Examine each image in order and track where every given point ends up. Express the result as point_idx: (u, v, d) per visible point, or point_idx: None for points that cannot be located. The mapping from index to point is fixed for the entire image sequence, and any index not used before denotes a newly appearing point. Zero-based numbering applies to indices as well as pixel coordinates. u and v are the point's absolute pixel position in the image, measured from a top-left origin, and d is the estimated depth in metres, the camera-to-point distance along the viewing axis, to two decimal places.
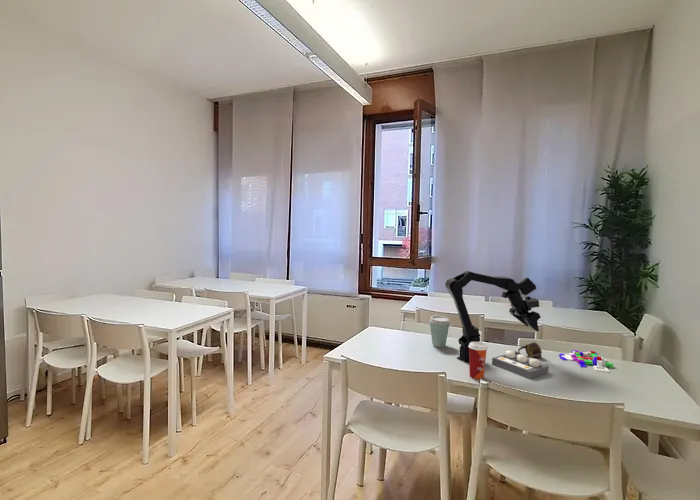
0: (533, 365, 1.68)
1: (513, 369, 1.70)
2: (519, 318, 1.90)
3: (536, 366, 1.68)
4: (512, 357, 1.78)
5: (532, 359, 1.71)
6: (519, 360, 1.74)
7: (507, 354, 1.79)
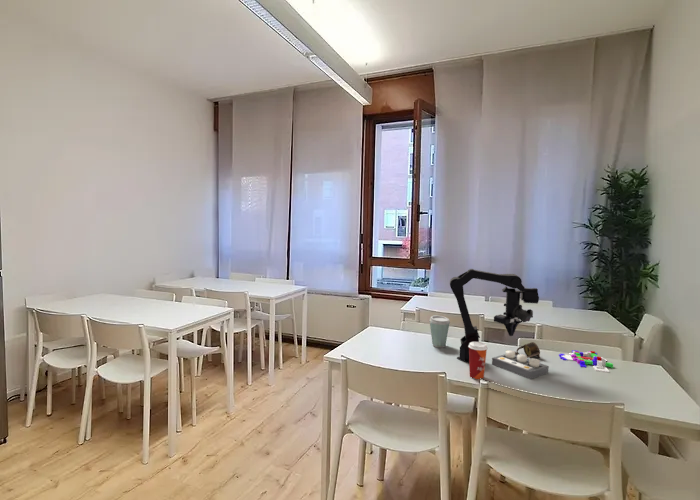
0: (533, 365, 1.68)
1: (513, 369, 1.70)
2: None
3: (536, 366, 1.68)
4: (512, 357, 1.78)
5: (532, 359, 1.71)
6: (519, 360, 1.74)
7: (507, 354, 1.79)
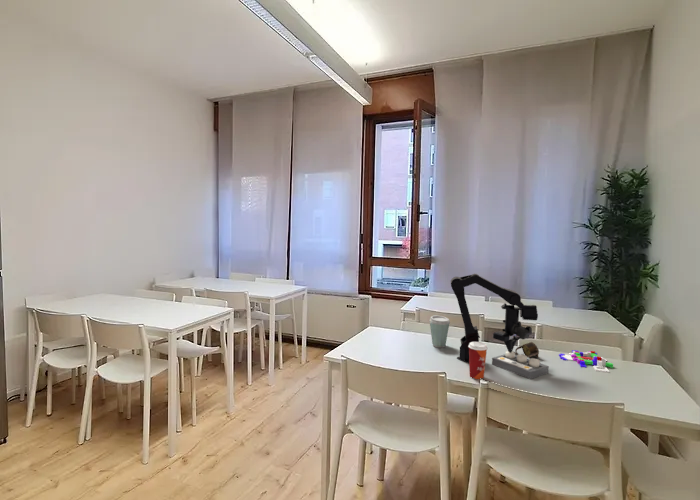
0: (533, 365, 1.68)
1: (513, 369, 1.70)
2: None
3: (536, 366, 1.68)
4: (512, 357, 1.78)
5: (532, 359, 1.71)
6: (519, 360, 1.74)
7: (507, 354, 1.79)
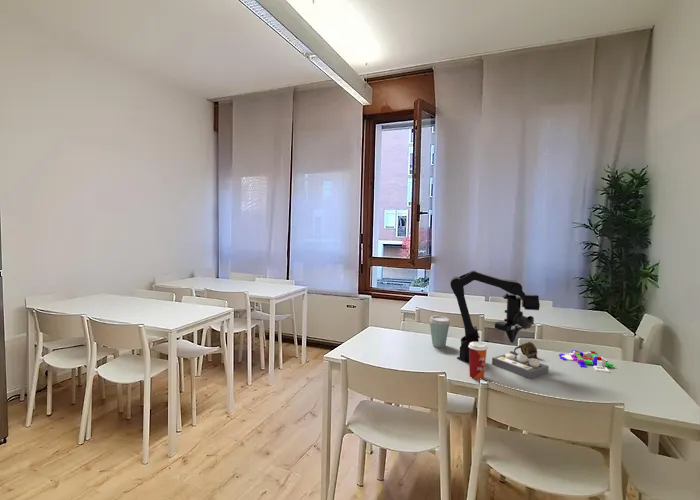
0: (533, 365, 1.68)
1: (513, 369, 1.70)
2: None
3: (536, 366, 1.68)
4: None
5: (532, 359, 1.71)
6: (519, 360, 1.74)
7: (507, 357, 1.79)
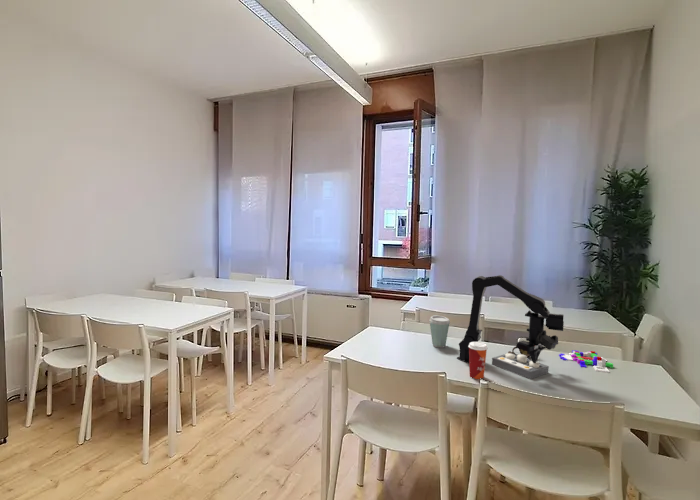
0: (533, 367, 1.69)
1: (513, 369, 1.70)
2: None
3: None
4: None
5: (532, 362, 1.71)
6: (519, 360, 1.74)
7: (507, 357, 1.79)
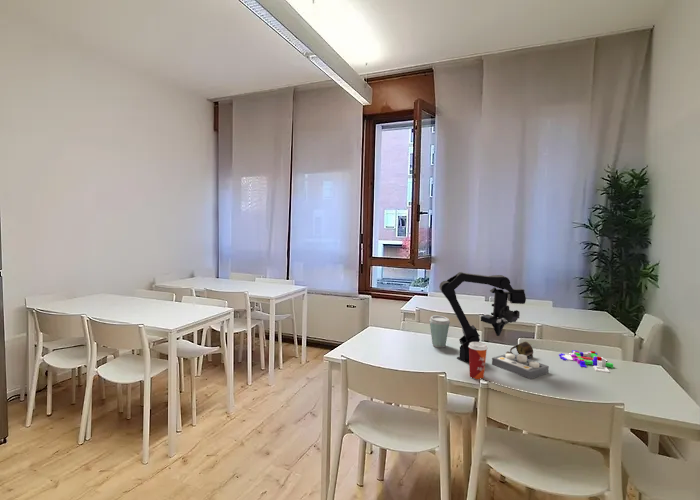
0: None
1: (513, 369, 1.70)
2: None
3: None
4: None
5: (532, 362, 1.71)
6: (519, 360, 1.74)
7: (507, 357, 1.79)
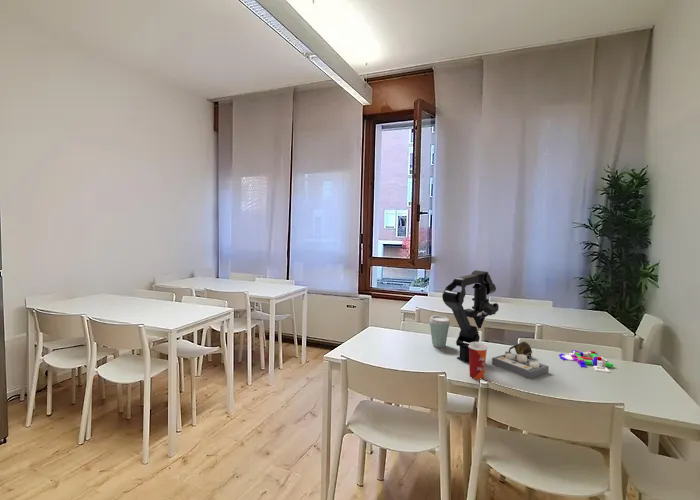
0: None
1: (513, 369, 1.70)
2: None
3: None
4: None
5: (532, 362, 1.71)
6: (519, 360, 1.74)
7: (507, 357, 1.79)
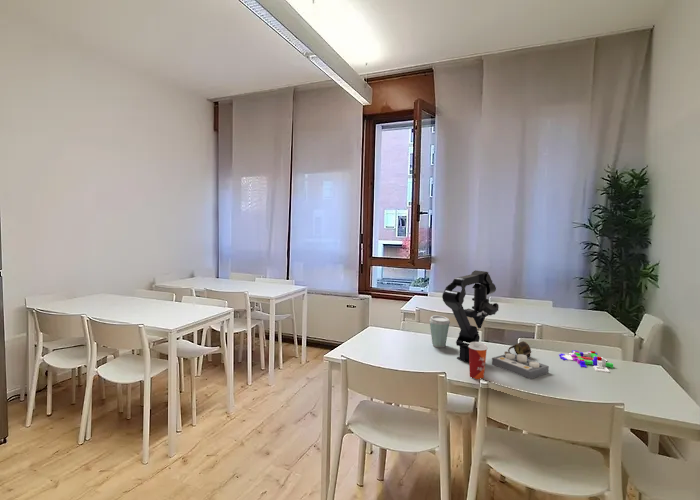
0: None
1: (513, 369, 1.70)
2: None
3: None
4: None
5: (532, 362, 1.71)
6: (519, 360, 1.74)
7: (507, 357, 1.79)
